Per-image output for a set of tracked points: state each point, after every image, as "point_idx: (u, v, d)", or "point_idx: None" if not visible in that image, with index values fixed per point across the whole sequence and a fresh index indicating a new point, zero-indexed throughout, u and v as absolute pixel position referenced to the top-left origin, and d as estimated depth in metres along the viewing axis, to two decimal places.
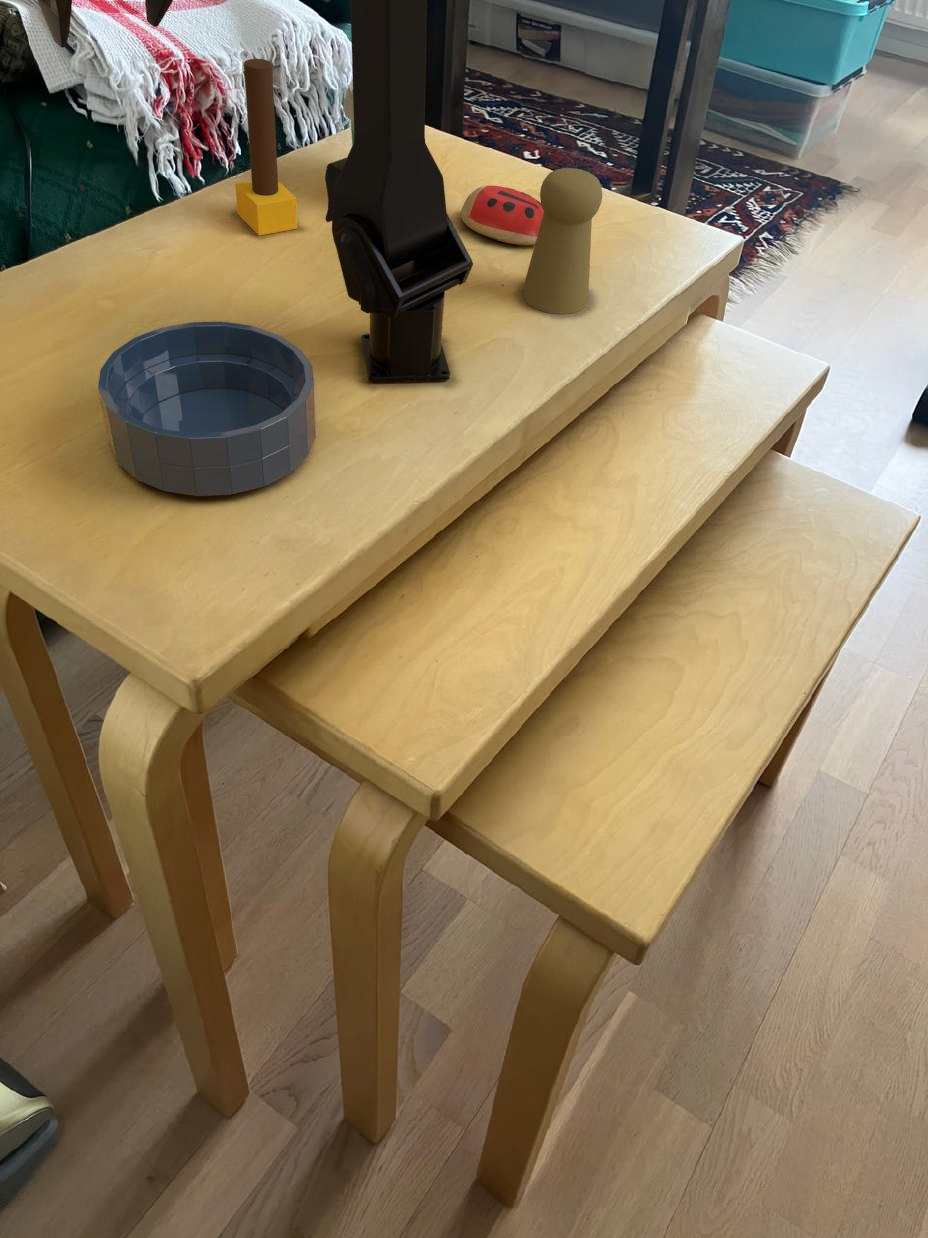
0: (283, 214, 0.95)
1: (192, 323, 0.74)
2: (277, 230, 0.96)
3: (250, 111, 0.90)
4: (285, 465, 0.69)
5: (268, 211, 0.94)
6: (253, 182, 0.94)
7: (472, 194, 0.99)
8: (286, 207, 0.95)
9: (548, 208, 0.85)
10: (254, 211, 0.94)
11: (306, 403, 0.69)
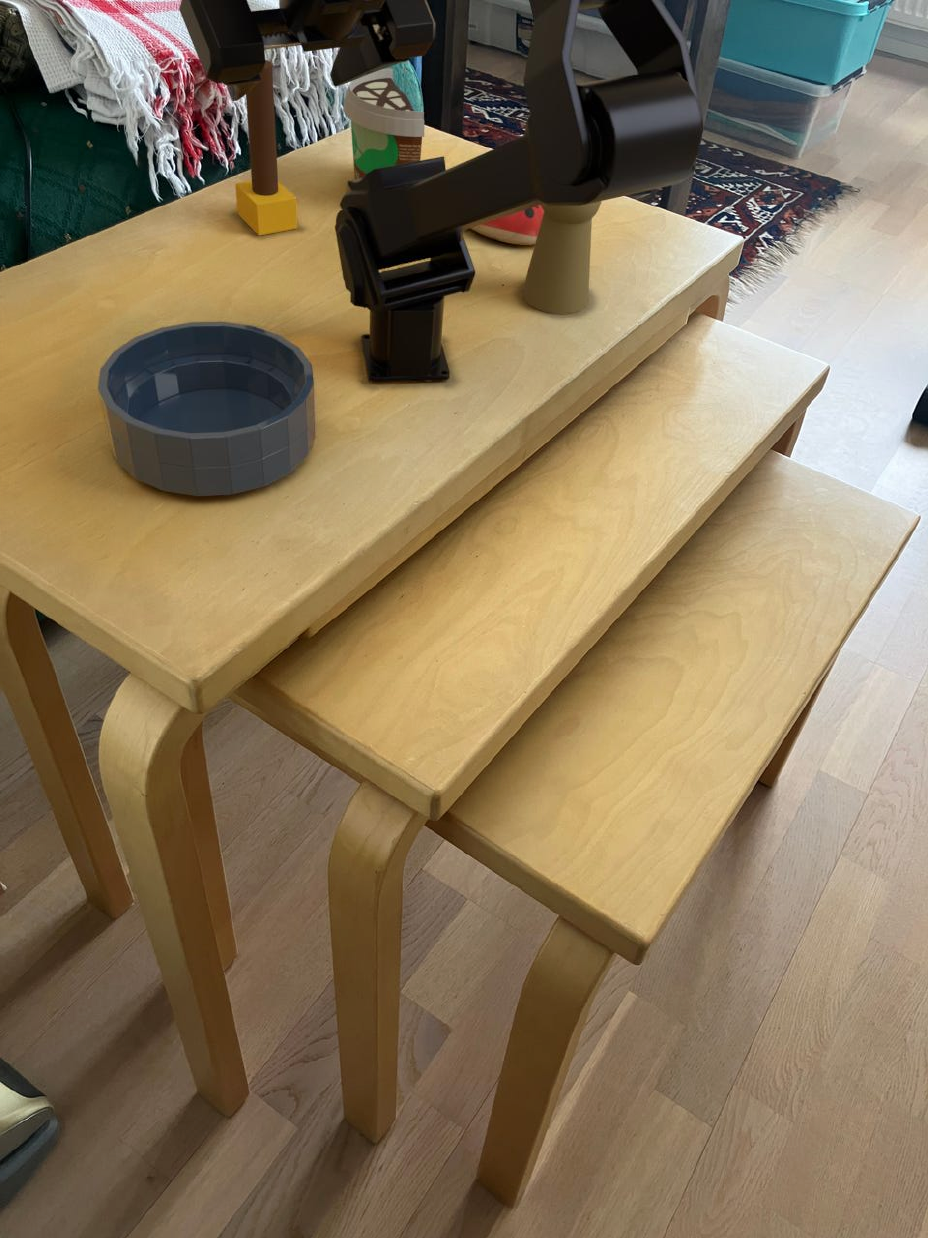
0: (283, 214, 0.95)
1: (192, 323, 0.74)
2: (277, 230, 0.96)
3: (250, 111, 0.90)
4: (285, 465, 0.69)
5: (268, 211, 0.94)
6: (253, 182, 0.94)
7: None
8: (286, 207, 0.95)
9: (548, 208, 0.85)
10: (254, 211, 0.94)
11: (306, 403, 0.69)
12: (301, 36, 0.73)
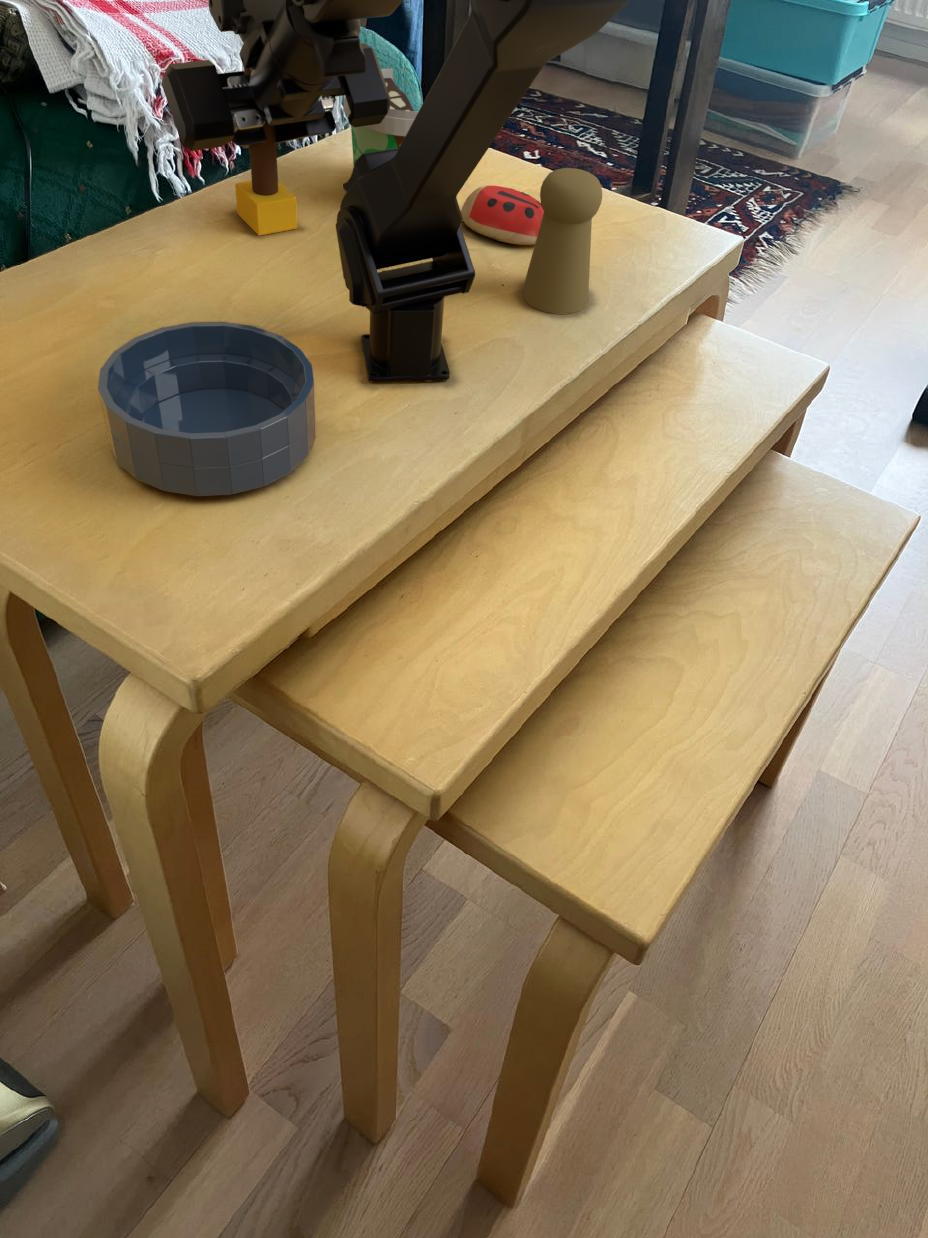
0: (283, 214, 0.95)
1: (192, 323, 0.74)
2: (277, 230, 0.96)
3: None
4: (285, 465, 0.69)
5: (268, 211, 0.94)
6: (253, 182, 0.94)
7: (472, 194, 0.99)
8: (286, 207, 0.95)
9: (547, 208, 0.85)
10: (254, 211, 0.94)
11: (306, 403, 0.69)
12: (267, 112, 0.84)
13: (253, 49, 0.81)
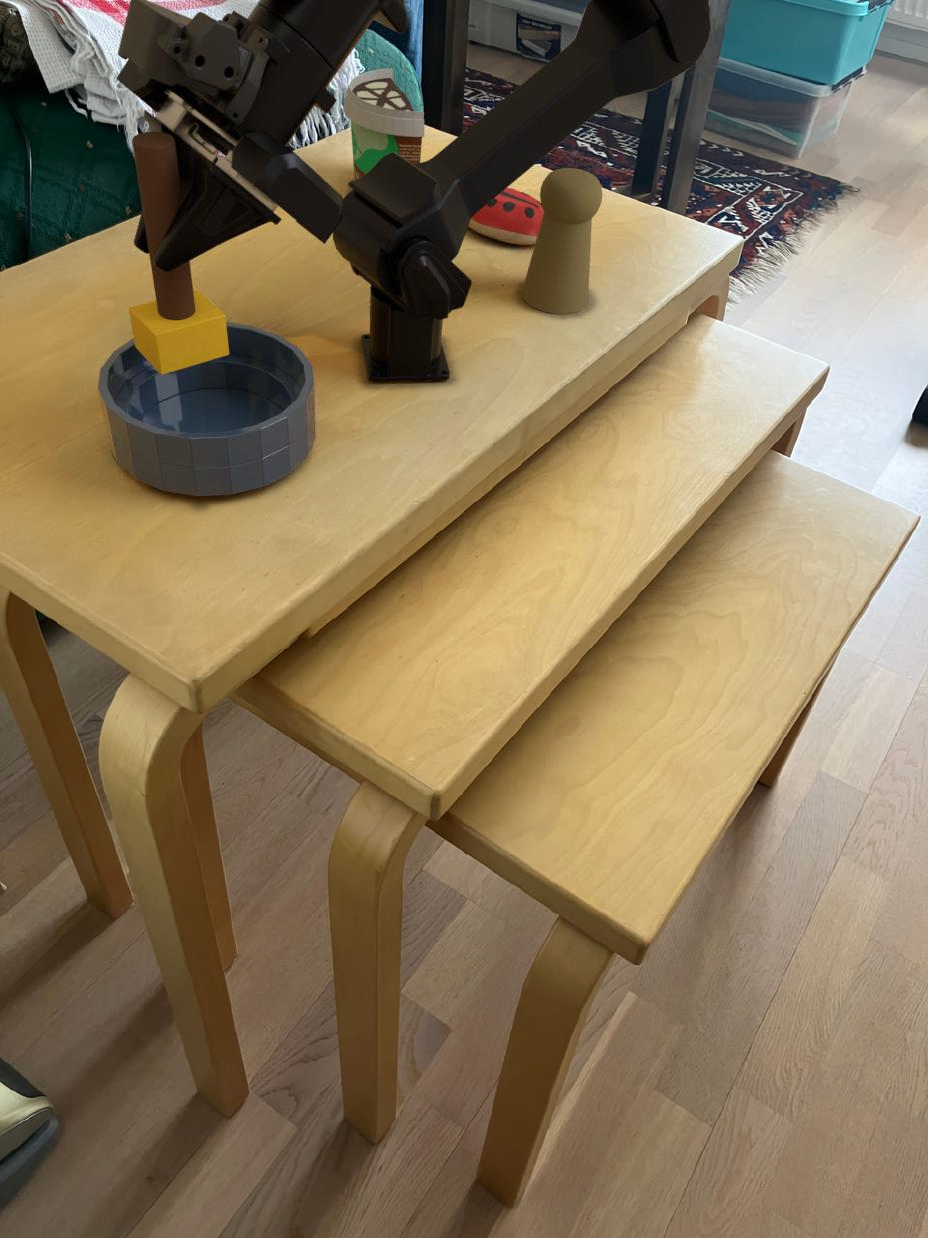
0: None
1: None
2: None
3: (176, 208, 0.62)
4: (285, 465, 0.69)
5: None
6: (185, 305, 0.66)
7: None
8: None
9: (548, 208, 0.85)
10: (219, 329, 0.68)
11: (306, 403, 0.69)
12: None
13: None
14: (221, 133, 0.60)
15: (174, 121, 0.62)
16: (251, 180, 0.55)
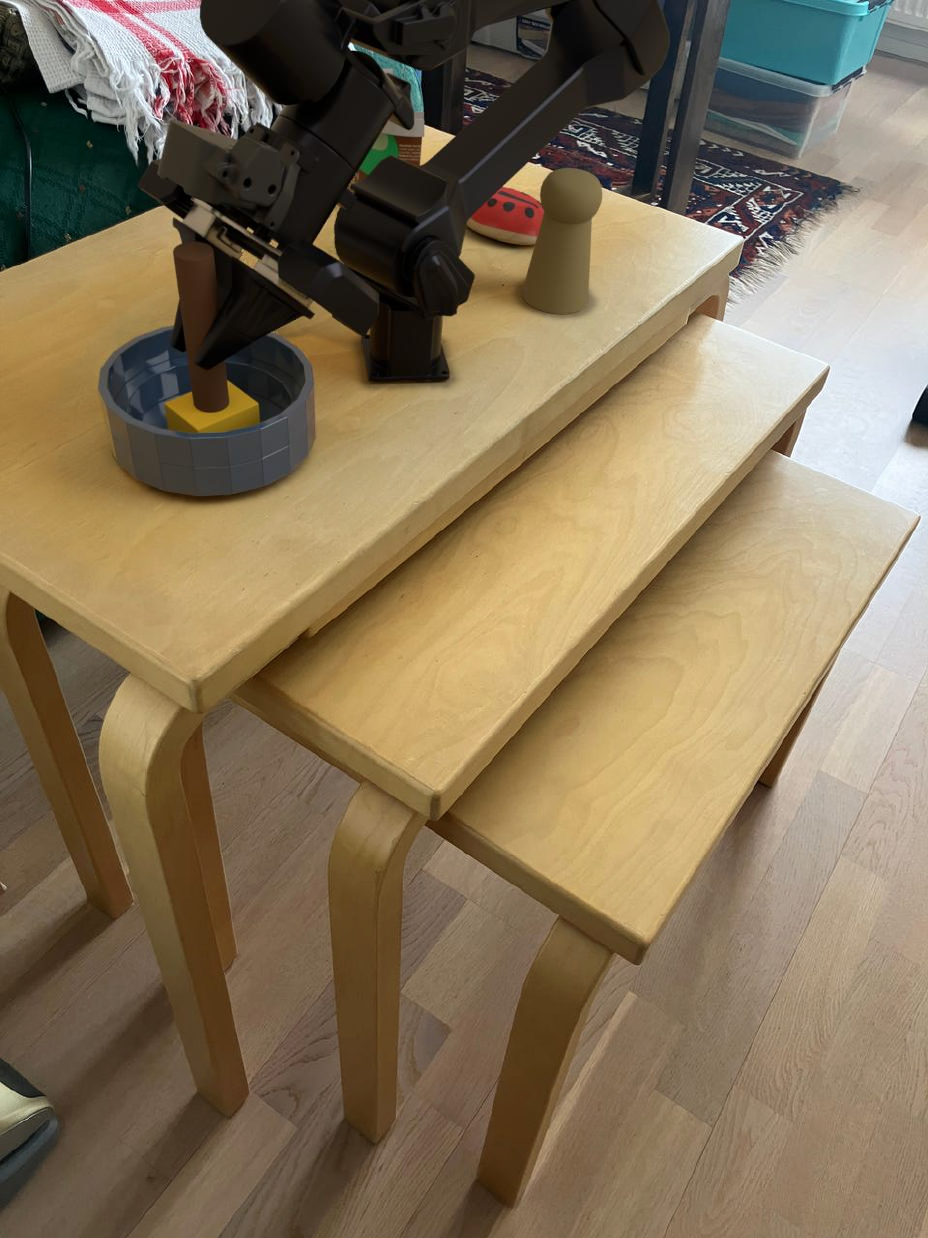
0: None
1: None
2: None
3: (215, 311, 0.64)
4: (285, 465, 0.69)
5: None
6: (222, 398, 0.69)
7: None
8: None
9: (548, 208, 0.85)
10: (253, 416, 0.71)
11: (306, 403, 0.69)
12: None
13: None
14: (256, 239, 0.63)
15: (204, 227, 0.65)
16: (302, 290, 0.59)
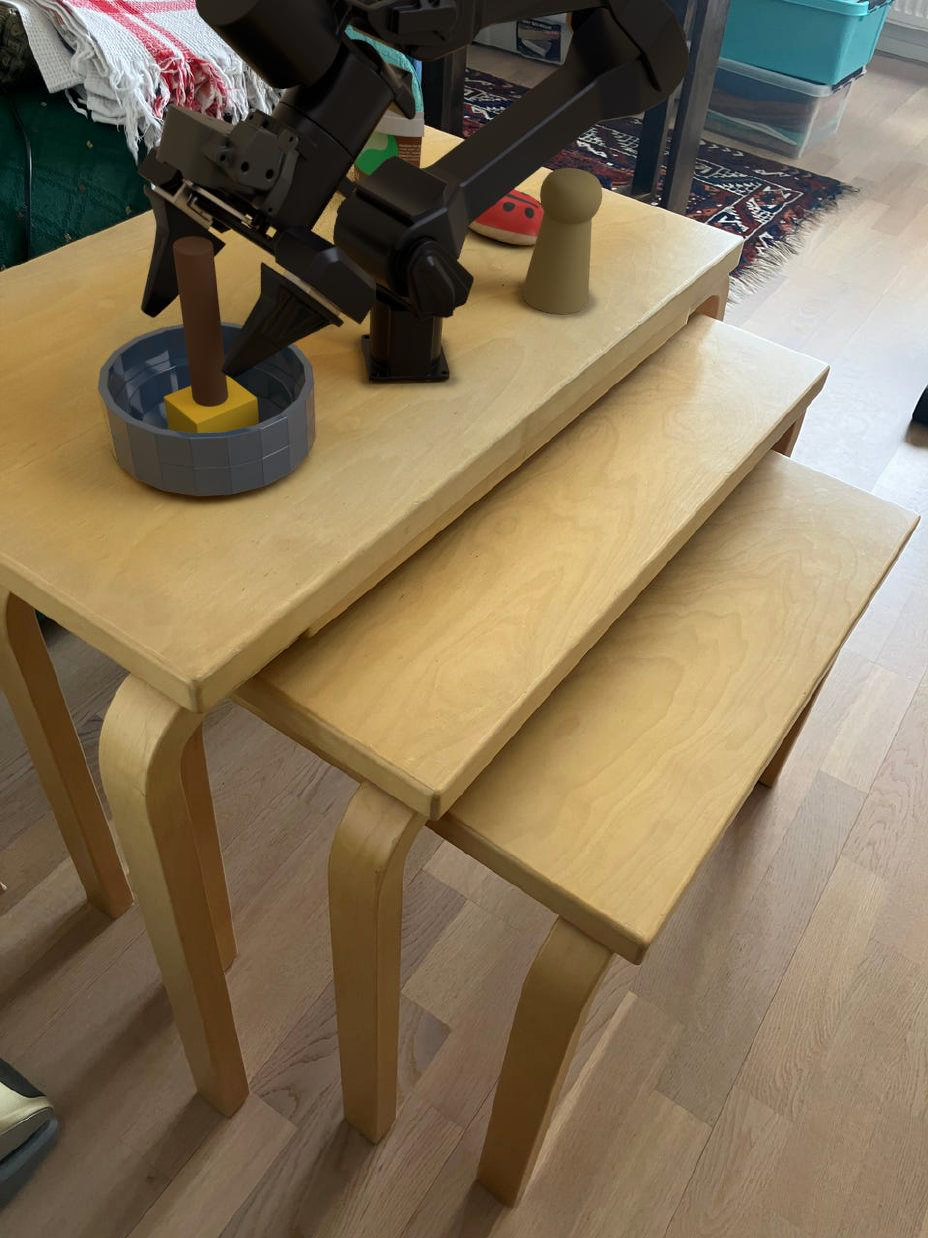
0: None
1: None
2: None
3: (214, 305, 0.65)
4: (285, 465, 0.69)
5: None
6: (220, 392, 0.69)
7: None
8: None
9: (548, 208, 0.85)
10: (251, 411, 0.71)
11: (306, 403, 0.69)
12: None
13: None
14: (224, 206, 0.65)
15: (174, 195, 0.66)
16: (298, 275, 0.59)
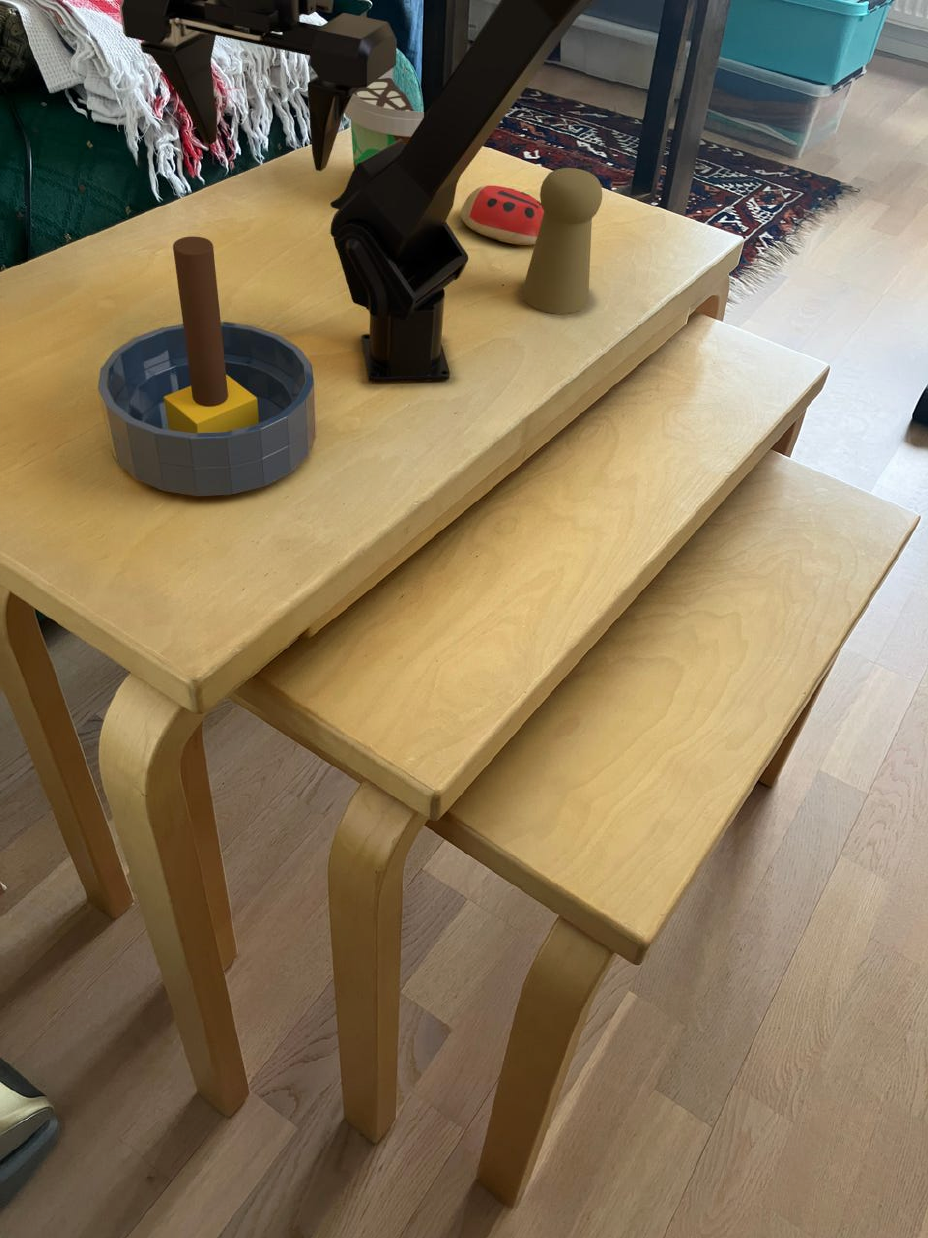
0: None
1: None
2: None
3: (214, 305, 0.65)
4: (285, 465, 0.69)
5: None
6: (220, 392, 0.69)
7: (472, 194, 0.99)
8: None
9: (548, 208, 0.85)
10: (251, 411, 0.71)
11: (306, 403, 0.69)
12: None
13: None
14: None
15: None
16: None
